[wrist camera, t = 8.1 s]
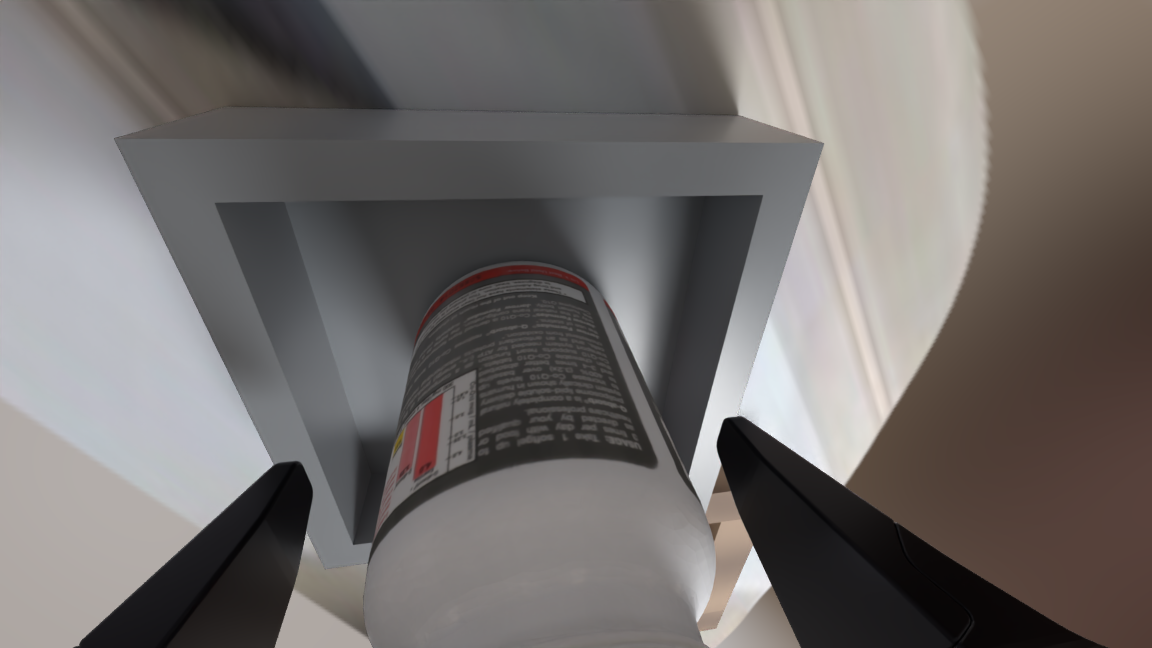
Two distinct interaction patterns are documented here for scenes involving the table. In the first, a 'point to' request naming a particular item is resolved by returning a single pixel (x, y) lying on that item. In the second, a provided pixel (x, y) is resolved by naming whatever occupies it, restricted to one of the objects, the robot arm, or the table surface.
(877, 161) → the table surface
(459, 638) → the pill bottle
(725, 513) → the socket block
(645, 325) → the parts tray
